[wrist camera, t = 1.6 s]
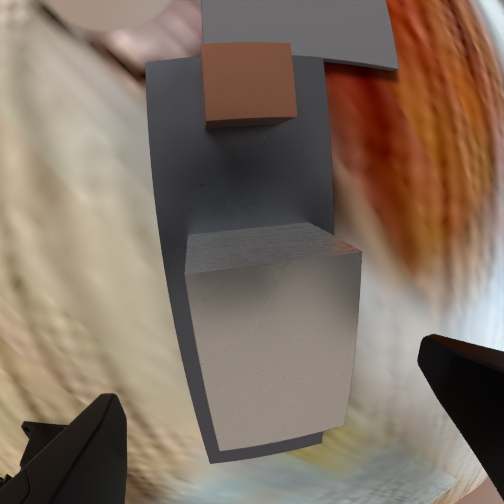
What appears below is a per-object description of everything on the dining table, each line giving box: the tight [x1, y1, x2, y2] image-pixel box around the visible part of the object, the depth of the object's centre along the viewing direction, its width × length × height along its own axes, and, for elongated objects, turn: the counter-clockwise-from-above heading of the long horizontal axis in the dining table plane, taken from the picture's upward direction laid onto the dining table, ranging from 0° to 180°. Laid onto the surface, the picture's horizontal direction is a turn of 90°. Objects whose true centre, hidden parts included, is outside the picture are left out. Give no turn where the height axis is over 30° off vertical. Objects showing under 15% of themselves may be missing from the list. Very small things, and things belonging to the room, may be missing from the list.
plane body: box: [146, 42, 334, 464], centre depth 13 cm, size 19×6×6 cm, turn 4°
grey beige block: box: [185, 222, 362, 451], centre depth 10 cm, size 6×4×4 cm
